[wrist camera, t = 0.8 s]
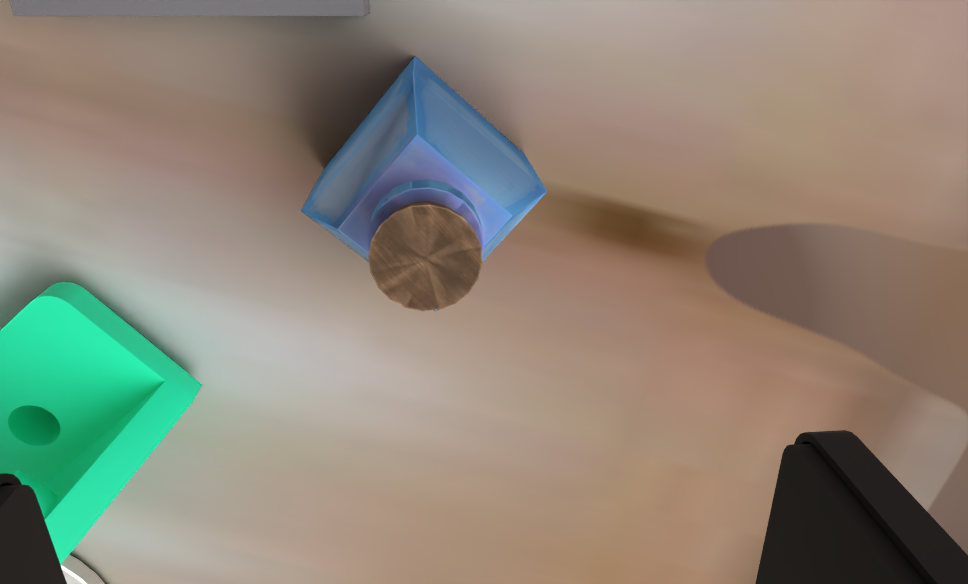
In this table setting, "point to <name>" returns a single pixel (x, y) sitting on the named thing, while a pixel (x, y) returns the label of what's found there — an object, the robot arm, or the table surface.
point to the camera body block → (190, 7)
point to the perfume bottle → (424, 191)
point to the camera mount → (81, 406)
